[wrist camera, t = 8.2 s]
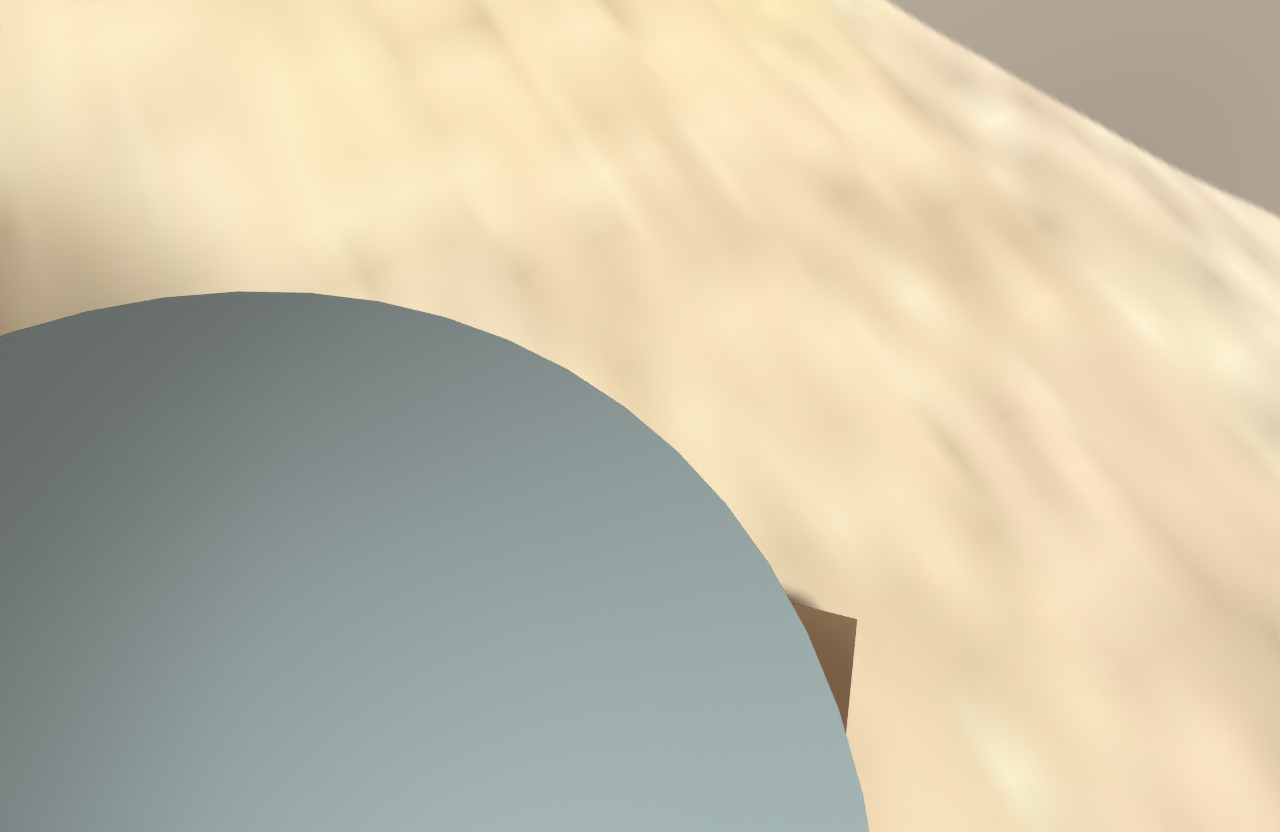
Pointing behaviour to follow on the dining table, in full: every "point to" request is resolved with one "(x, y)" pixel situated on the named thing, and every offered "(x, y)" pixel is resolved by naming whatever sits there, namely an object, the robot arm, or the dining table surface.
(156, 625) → the pale blue cylinder
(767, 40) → the dining table surface
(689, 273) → the dining table surface
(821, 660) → the cradle board
